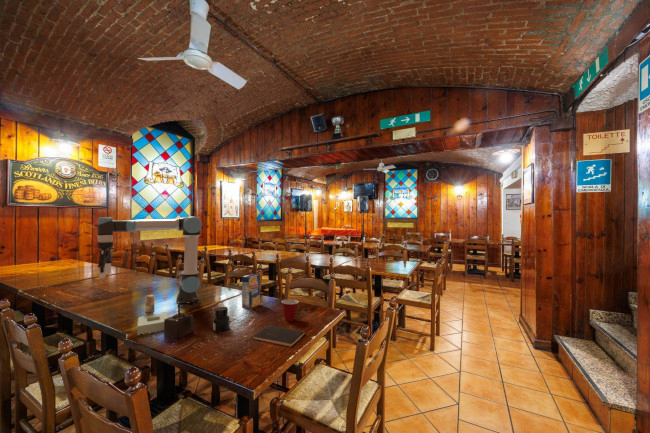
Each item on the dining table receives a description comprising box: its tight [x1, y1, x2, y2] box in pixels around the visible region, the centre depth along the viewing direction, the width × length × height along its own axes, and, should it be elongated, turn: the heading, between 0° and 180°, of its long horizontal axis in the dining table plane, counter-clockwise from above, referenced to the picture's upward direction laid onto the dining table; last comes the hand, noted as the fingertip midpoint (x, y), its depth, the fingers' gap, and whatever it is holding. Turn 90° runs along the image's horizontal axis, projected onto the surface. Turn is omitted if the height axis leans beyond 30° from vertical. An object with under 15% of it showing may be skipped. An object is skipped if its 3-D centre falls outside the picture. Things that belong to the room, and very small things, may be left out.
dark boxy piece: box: [163, 297, 201, 339], centre depth 153 cm, size 16×11×18 cm
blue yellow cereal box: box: [241, 273, 261, 310], centre depth 199 cm, size 7×11×22 cm, turn 152°
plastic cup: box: [281, 298, 300, 322], centre depth 173 cm, size 11×11×12 cm
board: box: [136, 312, 170, 336], centre depth 159 cm, size 15×16×5 cm
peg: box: [144, 294, 155, 316], centre depth 171 cm, size 5×5×15 cm
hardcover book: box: [252, 324, 306, 347], centre depth 149 cm, size 16×23×2 cm
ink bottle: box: [212, 306, 231, 333], centre depth 157 cm, size 10×9×12 cm
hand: (105, 275), depth 172 cm, fingers open, 13 cm apart
